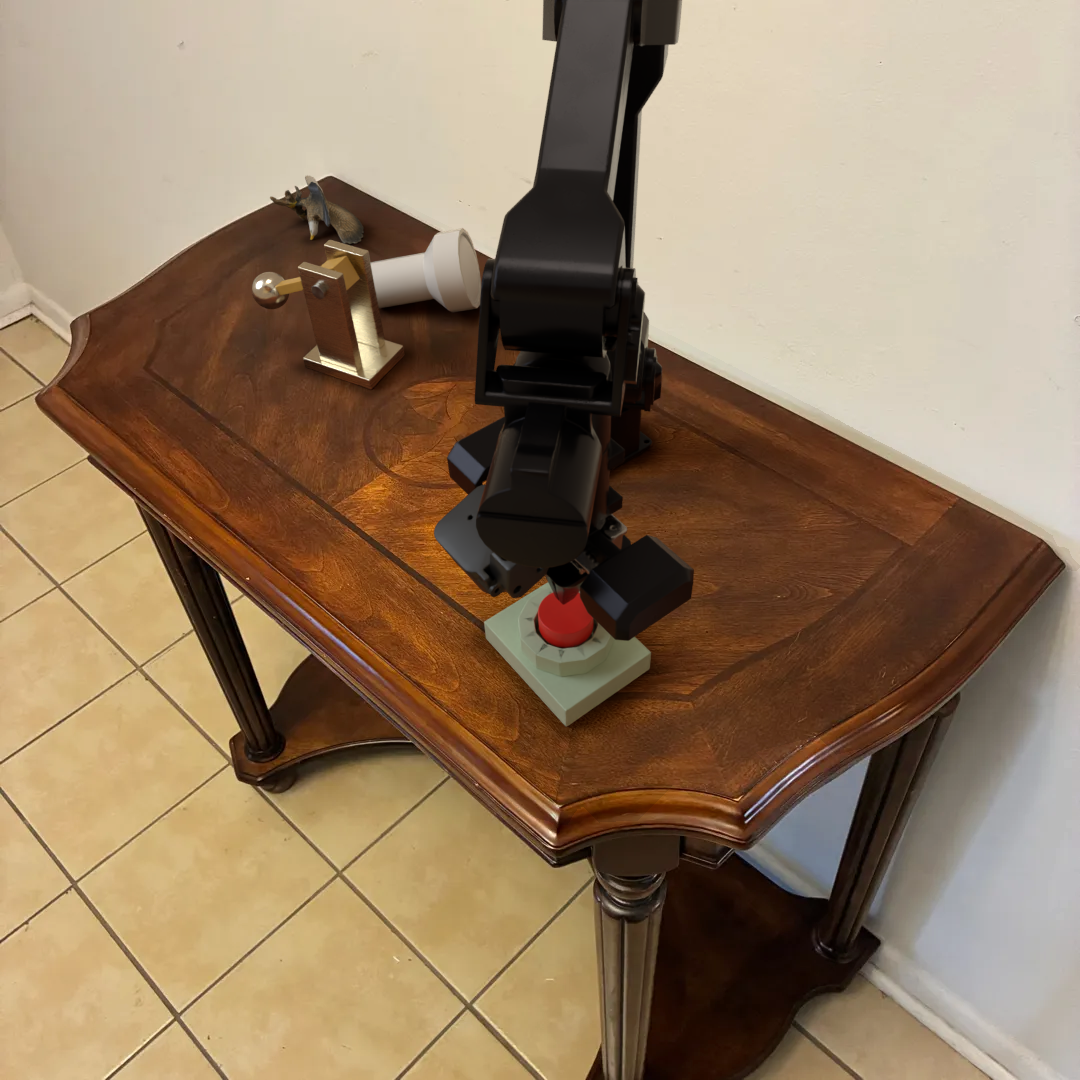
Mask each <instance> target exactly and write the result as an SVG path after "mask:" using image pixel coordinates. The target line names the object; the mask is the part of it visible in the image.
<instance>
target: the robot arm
mask: <svg viewBox="0 0 1080 1080" xmlns="http://www.w3.org/2000/svg"><path fill="white" fill-rule="evenodd" d="M682 7H683V0H542V30H541V31H542V37H541V39H542V41H549V42H556V45H555V50H554V56H553V64H552V69H551V75H550V81H549V86H548V93H547V100H546V106H545V113H544V120H543V125H542V132H541V139H540V145H539V150H538V157H537V164H536V170H535V175H534V180H533V183H532V184H533V185H532V187H531V188H530V189H529V191H528V192H526V193H525V194H524V195H523V196H522V197H521V198H520V199H519V200H518V201H517V202H516V203H515V204H513V206H512V207H511V208H510V209H509V210H508V211H507V212H506V213H505V215H504V217H503V221H502V224H501V225H502V226H501V230H500V234H499V240H498V243H497V248H496V252H495V258H488V259H486V261H485V263H484V268H483V272H482V275H481V276H482V277H481V296H480V305H479V315H478V316H479V317H478V331H477V332H478V333H477V334H478V335H477V349H476V366H475V370H476V371H475V383H474V385H475V386H474V404H475V405H480V406H491V407H501V408H502V407H503V412H504V413H503V415H504V416H503V417H501V418H499V419H497V420H495V421H493V422H491V423H489V424H487V425H485V426H483V427H482V428H480V429H478V430H475V431H474V432H472V433H470V434H468V435H467V436H465V437H463V438H461V439H459V440H457V441H455V443H454V444H453V446H452V447H451V449H450V450H449V452H448V454H447V456H446V460H447V467H448V475H449V478H450V479H451V480H452V481H453V482H454V483H455V484H456V485H457V486H458V487H459V488H460V489H461V490H462V491H463V492H464V493H465V494H466V496H465V497H464V498H463V499H462V500H460V501H459V502H458V503H457V504H456V505H455V506H454V507H453V508H451V510H449V511H448V512H447V513H446V514H445V515H443V517H441V519H439V520H438V522H436V525H435V526H434V529H433V537H434V539H435V540H436V541H437V543H438V544H439V545H440V546H441V547H442V549H443V550H444V551H445V552H446V553H447V555H448V556H449V557H450V558H451V559H452V560H453V561H454V563H455V564H456V565H457V566H458V567H459V568H460V569H461V570H462V572H464V573H465V574H466V575H467V577H468V578H470V580H471V581H472V582H473V583H475V585H476V586H477V587H478V588H479V589H480V591H482V592H483V593H484V594H487V595H489V596H491V597H492V598H496V597H498V596H500V595H501V594H503V593H507V594H508V595H509V597H511V598H512V599H519V598H523V597H524V595H526V594H527V593H528V592H529V591H530V590H531V589H532V588H533V587H534V586H535V585H536V584H538V582H540V581H541V580H542V579H543V578H544V577H545V579H546V581H547V582H548V583H549V585H550V587H551V589H552V591H553V593H554V595H555V597H556V598H557V599H558V600H559V601H560V602H561V603H562V604H563V605H564V604H566V603H568V602H569V601H571V600H572V599H574V598H575V597H576V595H577V594H578V593H579V591H580V598H581V600H582V602H583V604H584V606H585V608H586V610H587V612H588V613H589V614H590V615H591V616H592V617H593V618H594V619H595V620H596V621H597V622H598V623H599V624H600V625H601V626H602V627H603V628H604V629H605V630H606V631H607V632H608V633H609V634H610V635H611V636H612V637H613V638H614V639H615V640H624V641H629V640H631V639H632V638H633V637H636V636H638V635H640V634H641V633H643V632H644V631H645V630H647V629H649V628H650V627H652V626H653V625H654V624H656V623H657V622H659V621H660V620H662V619H664V617H666V616H667V615H669V614H670V613H672V612H674V611H675V610H677V609H678V608H679V607H681V606H682V605H684V604H685V603H687V602H689V601H690V600H691V599H692V596H693V588H694V578H695V569H694V568H693V567H691V566H690V564H688V563H687V562H686V561H685V560H684V559H683V558H681V557H680V556H679V555H678V554H677V553H676V552H674V551H673V550H672V549H671V548H670V547H669V546H668V545H666V544H665V543H664V542H663V541H662V540H660V539H659V538H658V537H657V536H653V535H650V534H646V535H644V536H643V537H641V538H639V539H637V540H636V541H635V542H633V543H632V542H631V540H630V538H629V537H628V536H626V535H627V533H628V527H627V526H626V525H625V524H624V523H623V522H622V521H621V520H620V519H619V518H618V517H616V516H615V515H614V513H616V512H618V511H620V510H621V509H622V508H623V503H624V502H623V499H624V497H623V495H621V494H620V493H619V492H618V491H617V490H616V489H615V488H613V487H612V486H611V485H610V472H612V471H613V470H615V469H616V468H618V467H620V466H622V465H623V464H625V463H627V462H628V461H629V462H630V460H632V459H634V458H635V457H637V456H639V455H640V454H642V453H644V452H646V451H647V450H649V449H651V448H652V446H653V440H652V439H651V438H650V437H649V436H647V435H646V434H645V433H644V432H642V431H641V423H642V411H644V412H649V413H650V412H651V410H652V406H654V403H655V401H658V400H659V399H661V397H662V385H663V365H661V364H660V362H659V361H658V356H657V350H656V347H649V332H650V320H649V317H648V315H647V314H646V312H645V305H646V304H645V303H646V292H645V291H644V289H643V288H642V287H641V286H640V285H639V280H638V279H639V278H638V277H637V270H636V267H634V259H635V239H636V223H637V222H636V220H637V205H638V187H639V168H640V167H639V166H640V150H641V134H642V132H641V131H642V115H643V113H642V112H643V109H644V107H645V106H646V104H647V102H648V101H649V99H650V97H651V96H652V94H653V93H654V92H655V90H656V88H657V87H658V85H659V84H660V83H661V81H662V79H663V76H664V72H665V68H666V64H667V60H668V55H669V45H671V46H673V45H677V44H678V43H679V38H680V29H681V19H682ZM499 335H500V338H501V339H500V340H501V344H502V346H503V349H504V351H511V352H512V351H514V352H519V353H518V355H517V356H516V359H515V362H514V363H513V364H499V365H497V366H496V360H497V350H498V344H499V343H498V342H499ZM495 367H496V368H495ZM484 482H485V483H484Z"/></svg>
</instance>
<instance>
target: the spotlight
mask: <svg viewBox="0 0 1080 1080" xmlns="http://www.w3.org/2000/svg"><path fill="white" fill-rule="evenodd" d="M370 263H371V269H372V274H373V279H374V285H375V290H376V296H377V301H378V306H379V309H384V308H390V307H395V306H401V305H402V306H403V305H407V304H412V303H418V302H419V303H420V302H424V301H431V300H435V301H436V302H437V303H439V304H440V305H441V306H443V307H444V308H445V309H446V310H447V311H449V312H451V313H459V312H464V311H470V310H475V309H479V308H480V296H481V284H482V277H481V272H480V265H479V259H478V256H477V252H476V249H475V246H474V243H473V239H472V238H471V236H470V234H469V232H468V231H467V230H466V229H465V228H464V227H461V228H455V229H449V230H445V231H439V232H436V233H435V234H434V236H433V237H432V239H431V241H430V243H429V244H428V247H427V248H426V250H425V252H420V253H414V254H409V255H403V256H397V257H391V258H387V259H382V260H381V259H380V260H375V261H370Z"/></svg>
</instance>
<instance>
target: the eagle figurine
mask: <svg viewBox="0 0 1080 1080" xmlns="http://www.w3.org/2000/svg"><path fill="white" fill-rule="evenodd" d="M304 179H305V183H306V185H307V188H308V191H309V195H308V196H307V197H302V194H303V193H302V191H301V190H300V188H299V187H298V186H297V185H294V189H295V197H294V195H293V194H292V193H291V191H290V190H289V189H286V190H285V191H284V198H285V200H283V199H279V198H276V197H274V196H270V197H269V199H270V200H271V201H272V202H273V203H274V204H275V205H278V206H282V207H286V208H289V209H291V211H293V212H295V214H296V216H297V217H299V219H301V221H304V222H305V221H306V218H307V222H308V226H309V233H310V238H309V240H311V241H313V240H314V238H315V236H316V235H318V233H319V224H320V221H323V222H324V224H325V226H326V227H328V228H329V227H330V225H331V226H332V227H333V228H334V230H335V231H336V233H337V235H338V237H339V239H340V241H341V243H343V244H348V245H352V244H358V243H360V242H362V238H364V232H365V231H364V225H363V224H362V221H360V219H359V218H358V217H357V216H356V215H355V214H353V213H352V212H351V211H349V210H348V209H347V208H345V207H343V206H341V205H339V204H337V203H335V202H333V201H330V200H328V199H327V198H326V196H325V194H324V190H323V189H322V187H321V186H320V184H319V182H318V181H317V180H316V178H315V177H314V176H312V175H308V174H307V175H305V176H304ZM303 207H304V208H305V209H303Z"/></svg>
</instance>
